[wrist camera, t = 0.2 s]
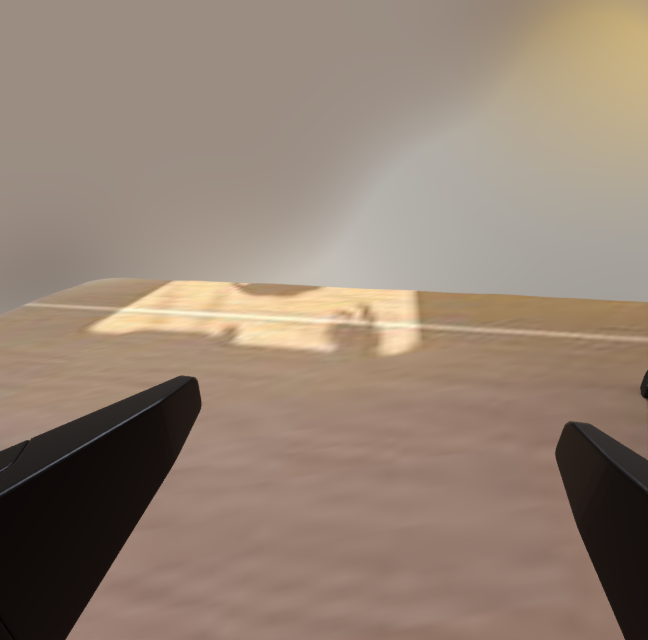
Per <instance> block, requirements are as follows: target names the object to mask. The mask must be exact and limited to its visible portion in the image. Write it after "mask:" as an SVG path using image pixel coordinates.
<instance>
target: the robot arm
mask: <svg viewBox="0 0 648 640" xmlns="http://www.w3.org/2000/svg"><path fill="white" fill-rule="evenodd" d="M200 410H201V396H200V390H199V384H198V380H197V379H196V378H195V377H191V376H178V377H176V378H173V379H171V380H169V381H166V382H164V383H162V384H159V385H157V386H154V387H152V388H150V389H147V390H145V391H143V392H140V393H138V394H135V395H133V396H131V397H128V398H126V399H124V400H121V401H119V402H116V403H114V404H112V405H109V406H107V407H105V408H102V409H100V410H97V411H95V412H93V413H90V414H88V415H86V416H83V417H81V418H78V419H76V420H74V421H71V422H69V423H67V424H64V425H62V426H59V427H57V428H55V429H52V430H50V431H48V432H45V433H43V434H40V435H38V436H36V437H33V438H31V440H30V441H29V440H26V441H24V442H21V443H19V444H16V445H14V446H12V447H9V448H7V449H5V450H2V451H0V640H66V638H67V636H68V635H69V633H70V631H71V630H72V628H73V627H74V625H75V623H76V622H77V620H78V619H79V617H80V615H81V614H82V612H83V610H84V609H85V607H86V606H87V604H88V602H89V601H90V599H91V597H92V596H93V594H94V593H95V591H96V589H97V588H98V586H99V585H100V583H101V581H102V580H103V578H104V576H105V575H106V573H107V572H108V570H109V568H110V567H111V565H112V563H113V562H114V560H115V559H116V557H117V555H118V554H119V552H120V551H121V549H122V547H123V546H124V544H125V542H126V541H127V539H128V538H129V536H130V534H131V533H132V531H133V529H134V528H135V526H136V525H137V523H138V521H139V520H140V518H141V517H142V515H143V513H144V512H145V510H146V508H147V507H148V505H149V504H150V502H151V500H152V499H153V497H154V496H155V494H156V492H157V491H158V489H159V487H160V486H161V484H162V483H163V481H164V479H165V478H166V476H167V474H168V473H169V471H170V470H171V468H172V466H173V464H174V463H175V461H176V459H177V457H178V455H179V453H180V451H181V449H182V447H183V445H184V443H185V441H186V439H187V437H188V435H189V433H190V431H191V429H192V427H193V425H194V423H195V420H196V418H197V416H198V414H199V412H200ZM555 456H556V461H557V464H558V467H559V471H560V474H561V477H562V480H563V484H564V487H565V490H566V493H567V497H568V500H569V503H570V506H571V509H572V513H573V516H574V519H575V522H576V525H577V527H578V530H579V532H580V535H581V537H582V540H583V542H584V544H585V547H586V549H587V552H588V554H589V556H590V559H591V561H592V563H593V566H594V568H595V570H596V573H597V575H598V577H599V580H600V582H601V584H602V587H603V589H604V591H605V594H606V596H607V598H608V601H609V603H610V605H611V608H612V610H613V612H614V615H615V617H616V619H617V622H618V624H619V626H620V629H621V631H622V633H623V636H624V638H625V640H648V460H647V459H645V458H643V457H642V456H640V455H639V454H637V453H635V452H634V451H632V450H631V449H629V448H628V447H626V446H624V445H623V444H621V443H620V442H618V441H616V440H615V439H613V438H612V437H610V436H609V435H607V434H605V433H604V432H602V431H601V430H599V429H597V428H596V427H594V426H593V425H591V424H588V423H582V422H573V421H570V422H567V423H566V424H565V426H564V428H563V431H562V433H561V436H560V439H559V441H558V444H557V447H556V451H555Z"/></svg>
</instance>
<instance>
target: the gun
mask: <svg viewBox="0 0 648 640" xmlns="http://www.w3.org/2000/svg"><path fill="white" fill-rule="evenodd" d="M640 389H641V393H642V396H643V397H645V398H648V370H647V372H646V374H645V376H644V378H643V381H642V384H641V387H640Z"/></svg>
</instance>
